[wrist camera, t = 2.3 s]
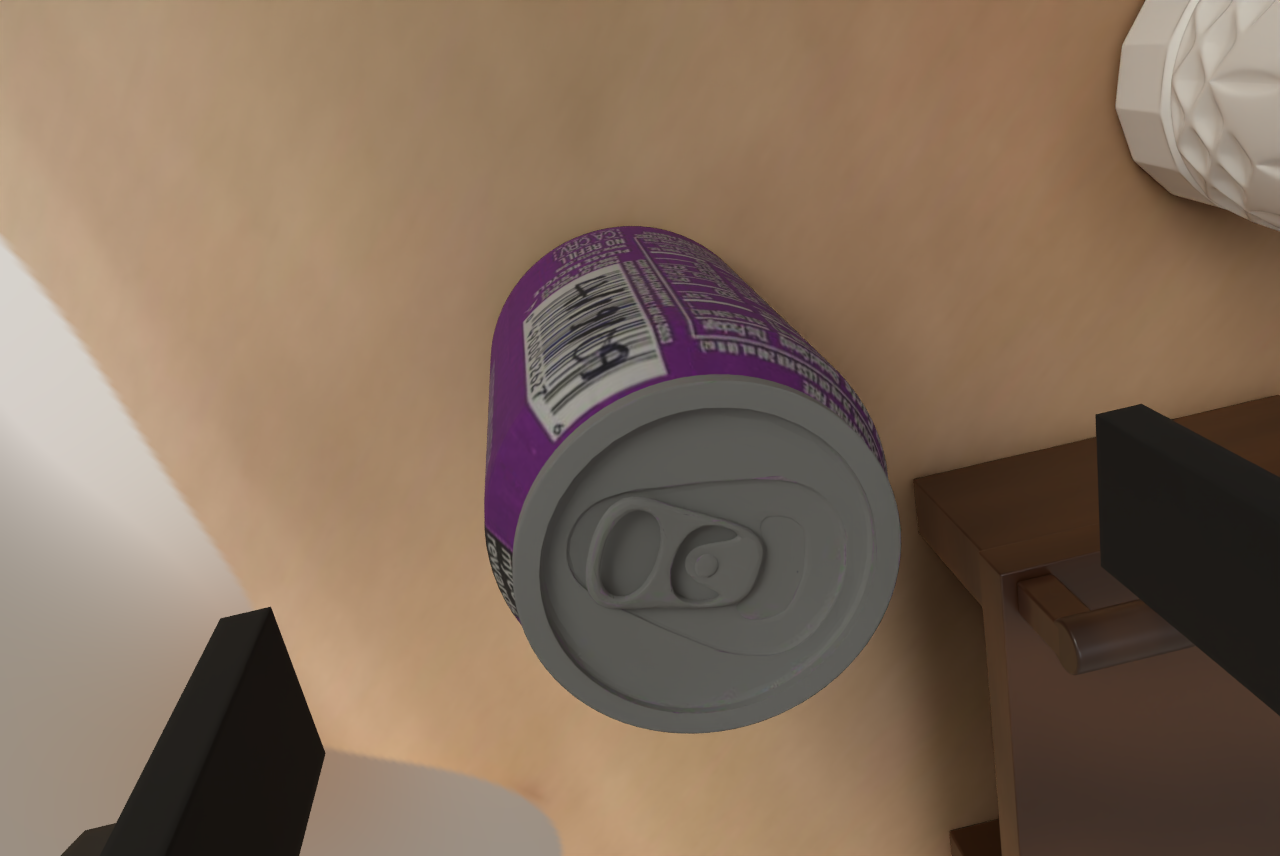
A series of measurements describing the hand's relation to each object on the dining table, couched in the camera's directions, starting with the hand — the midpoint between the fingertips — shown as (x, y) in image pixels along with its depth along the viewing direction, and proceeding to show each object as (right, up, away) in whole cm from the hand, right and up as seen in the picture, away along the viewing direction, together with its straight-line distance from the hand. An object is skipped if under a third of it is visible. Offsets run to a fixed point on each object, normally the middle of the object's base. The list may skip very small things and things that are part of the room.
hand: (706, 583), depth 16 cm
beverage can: (-1, +4, +11) cm, 12 cm away
